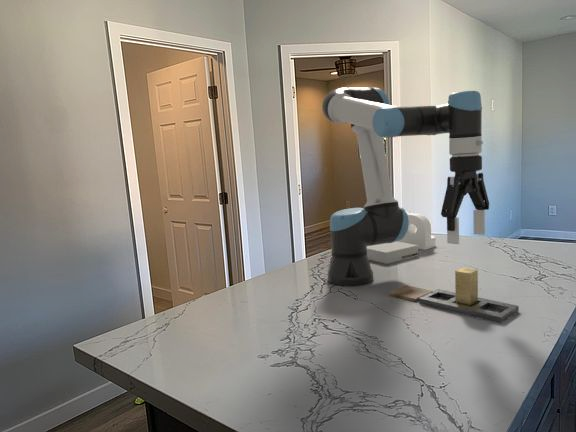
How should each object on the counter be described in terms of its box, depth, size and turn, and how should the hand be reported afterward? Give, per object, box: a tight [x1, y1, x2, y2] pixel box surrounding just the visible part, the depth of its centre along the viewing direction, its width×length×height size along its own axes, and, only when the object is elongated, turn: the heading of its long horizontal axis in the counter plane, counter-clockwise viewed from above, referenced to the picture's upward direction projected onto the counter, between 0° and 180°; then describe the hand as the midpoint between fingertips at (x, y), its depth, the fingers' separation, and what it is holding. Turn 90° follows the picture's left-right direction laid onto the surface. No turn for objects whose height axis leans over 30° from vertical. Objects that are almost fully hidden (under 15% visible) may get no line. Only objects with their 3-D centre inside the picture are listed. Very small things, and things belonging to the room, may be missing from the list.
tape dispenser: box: [397, 210, 437, 250], centre depth 191 cm, size 12×18×14 cm, turn 42°
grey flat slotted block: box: [418, 288, 519, 324], centre depth 115 cm, size 22×10×2 cm, turn 41°
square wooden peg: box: [454, 267, 479, 307], centre depth 115 cm, size 4×4×10 cm
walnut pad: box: [388, 285, 434, 303], centre depth 128 cm, size 9×9×1 cm
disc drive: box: [367, 241, 419, 265], centre depth 177 cm, size 18×22×5 cm
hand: (466, 238), depth 113 cm, fingers open, 13 cm apart
